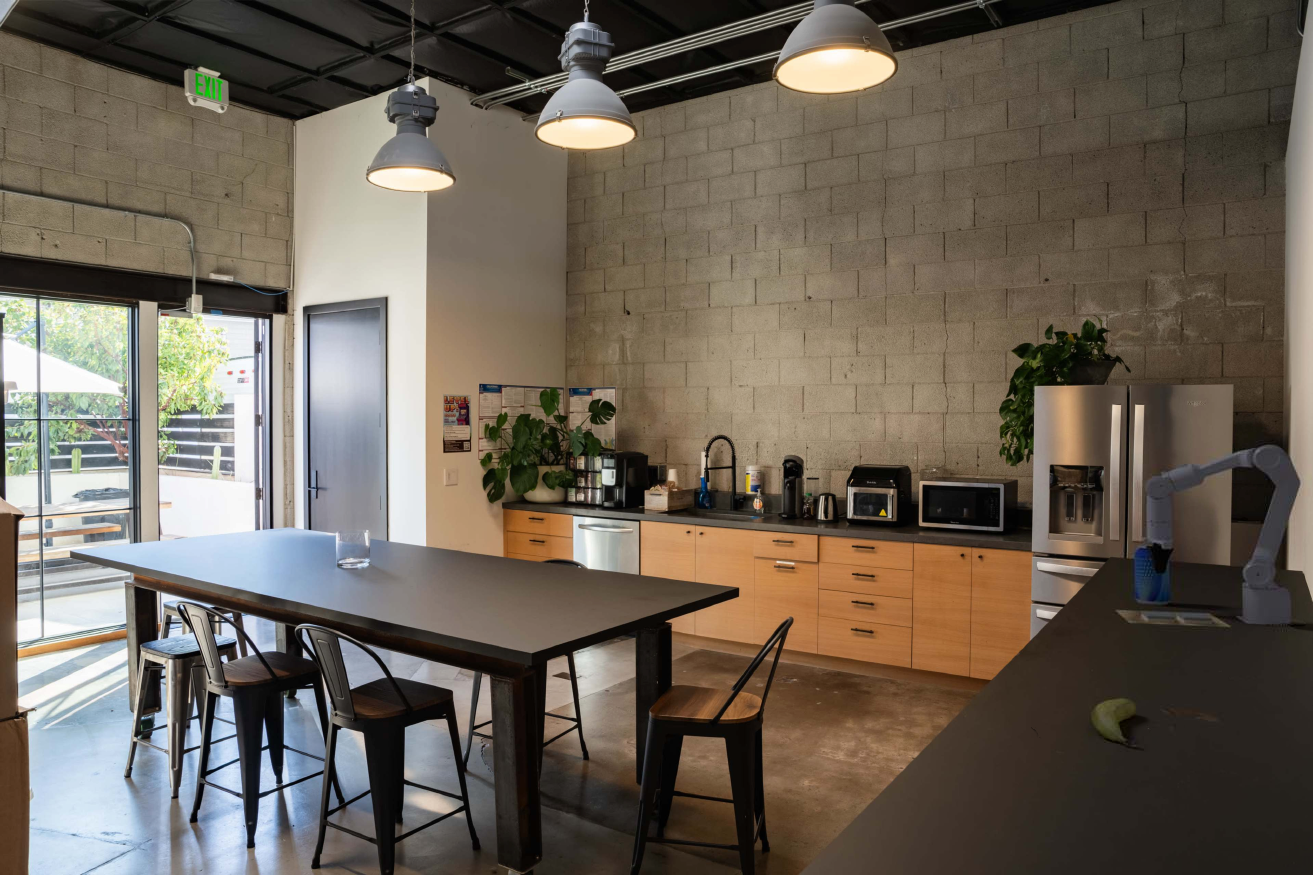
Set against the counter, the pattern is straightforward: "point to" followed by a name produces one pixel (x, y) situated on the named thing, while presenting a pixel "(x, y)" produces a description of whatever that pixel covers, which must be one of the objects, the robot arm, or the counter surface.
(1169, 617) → the tile far
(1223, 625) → the cork mat
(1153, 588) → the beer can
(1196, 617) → the tile near
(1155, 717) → the counter surface
